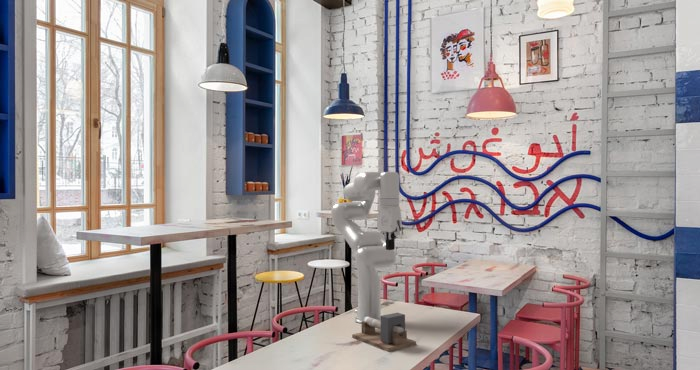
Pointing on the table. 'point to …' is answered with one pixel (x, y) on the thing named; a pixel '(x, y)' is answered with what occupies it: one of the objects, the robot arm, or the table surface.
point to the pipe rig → (374, 335)
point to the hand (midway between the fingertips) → (390, 249)
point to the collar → (390, 321)
